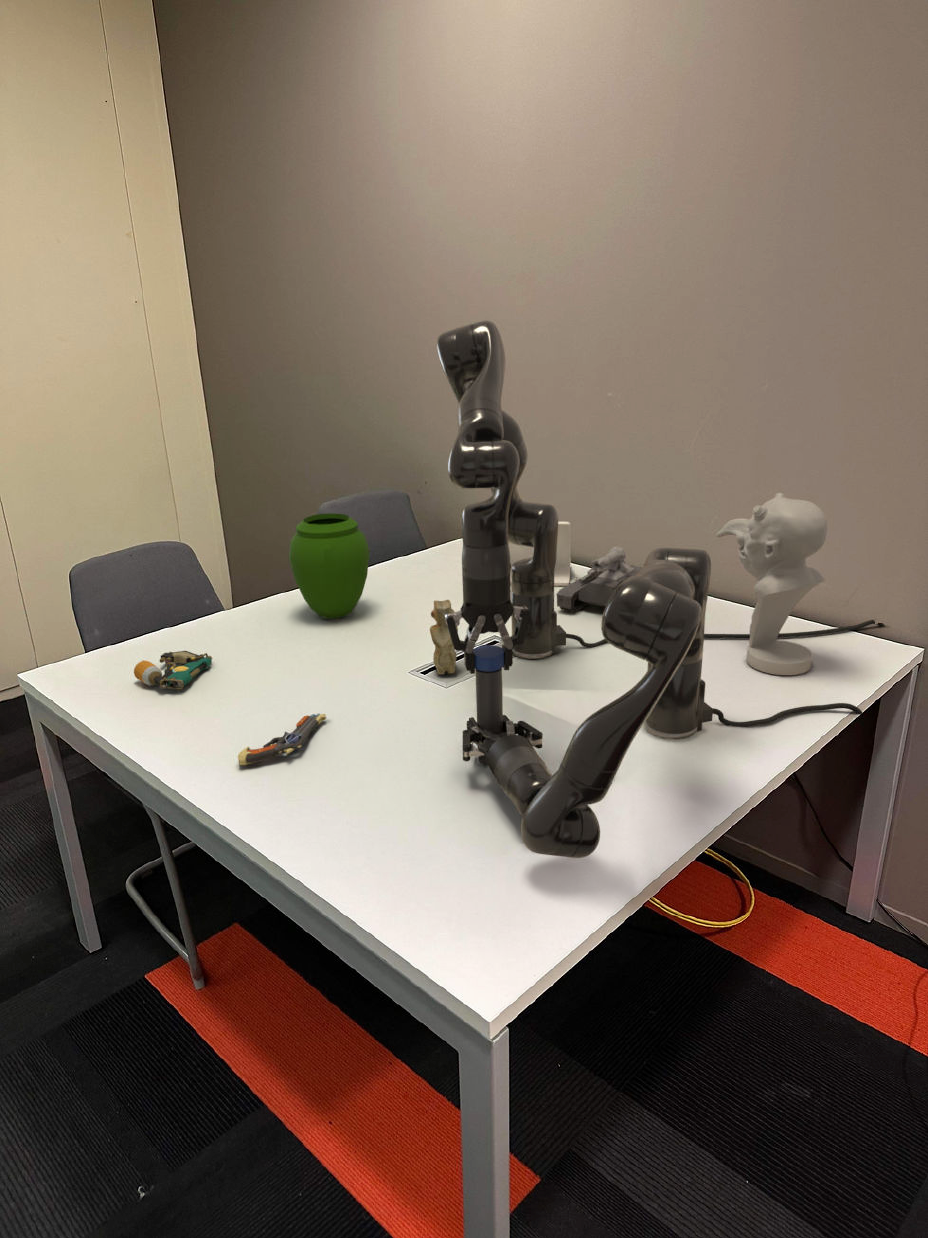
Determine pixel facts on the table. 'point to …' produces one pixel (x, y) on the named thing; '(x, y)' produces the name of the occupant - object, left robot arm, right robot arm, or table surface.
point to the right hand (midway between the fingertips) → (484, 720)
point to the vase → (329, 563)
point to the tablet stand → (561, 559)
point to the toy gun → (282, 741)
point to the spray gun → (172, 669)
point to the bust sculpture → (778, 575)
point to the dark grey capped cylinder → (489, 702)
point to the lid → (489, 658)
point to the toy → (597, 582)
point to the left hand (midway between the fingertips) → (488, 669)
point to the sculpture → (442, 639)
